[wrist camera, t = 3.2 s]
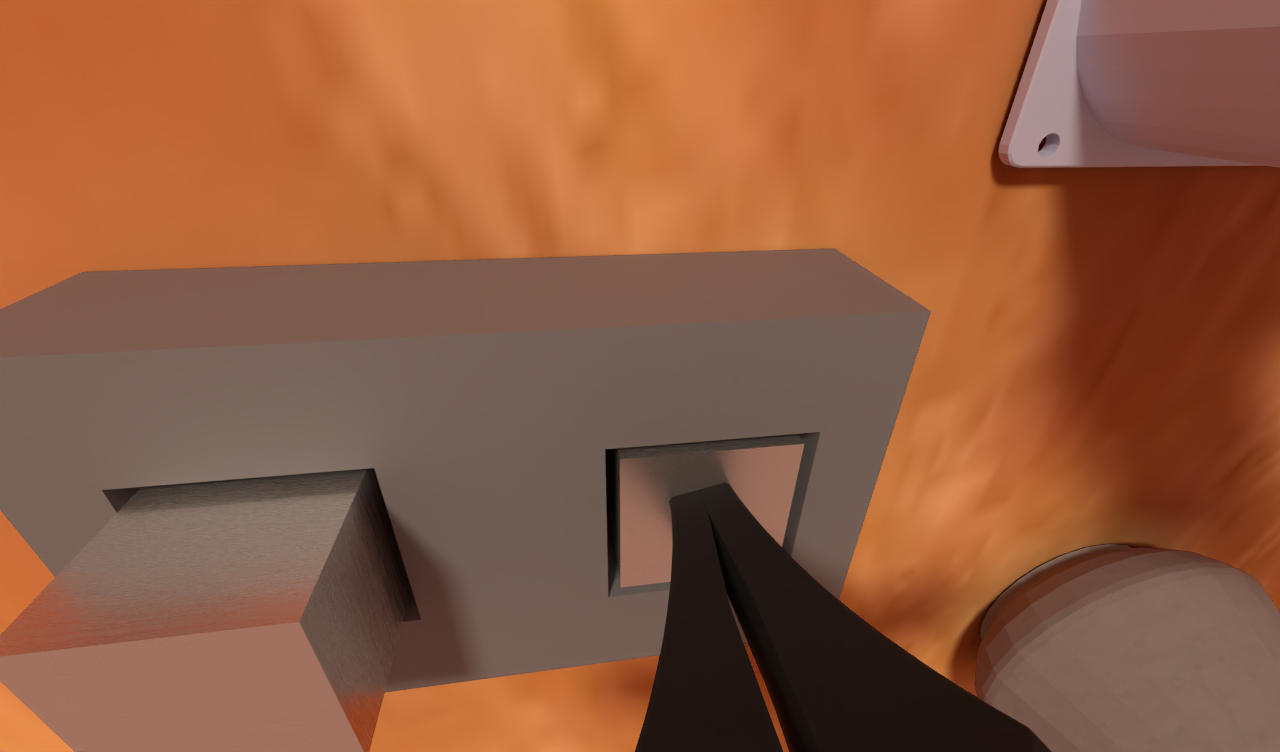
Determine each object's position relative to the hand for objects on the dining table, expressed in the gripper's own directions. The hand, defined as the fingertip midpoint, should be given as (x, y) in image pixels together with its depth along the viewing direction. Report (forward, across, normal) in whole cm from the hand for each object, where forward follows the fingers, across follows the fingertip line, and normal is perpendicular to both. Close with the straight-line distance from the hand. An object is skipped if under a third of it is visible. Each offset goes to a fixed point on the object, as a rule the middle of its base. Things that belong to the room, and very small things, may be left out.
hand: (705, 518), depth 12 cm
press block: (+4, +4, -1) cm, 6 cm away
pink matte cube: (+4, 0, 0) cm, 4 cm away
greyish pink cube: (+1, +9, -2) cm, 9 cm away
